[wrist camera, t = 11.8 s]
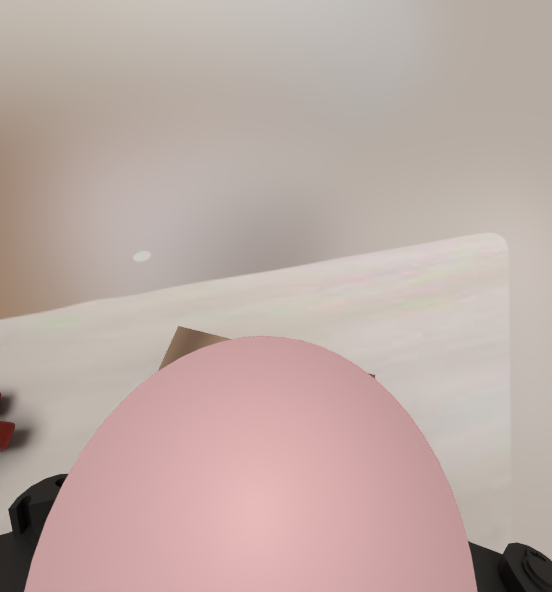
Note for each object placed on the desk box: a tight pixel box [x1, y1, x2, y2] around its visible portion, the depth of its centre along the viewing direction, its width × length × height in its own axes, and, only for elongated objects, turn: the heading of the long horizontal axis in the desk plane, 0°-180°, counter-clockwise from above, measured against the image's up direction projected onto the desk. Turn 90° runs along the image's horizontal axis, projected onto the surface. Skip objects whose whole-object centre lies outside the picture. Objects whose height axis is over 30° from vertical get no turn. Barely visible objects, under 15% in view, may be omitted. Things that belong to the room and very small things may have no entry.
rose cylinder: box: [24, 336, 477, 592], centre depth 9 cm, size 6×6×12 cm
